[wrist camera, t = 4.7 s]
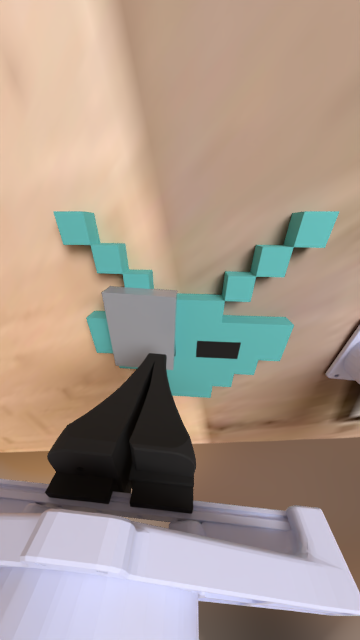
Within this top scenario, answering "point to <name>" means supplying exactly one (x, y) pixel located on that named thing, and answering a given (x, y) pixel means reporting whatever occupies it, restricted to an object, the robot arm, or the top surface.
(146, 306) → the tile
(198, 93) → the top surface
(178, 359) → the alien figure
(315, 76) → the top surface
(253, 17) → the top surface
